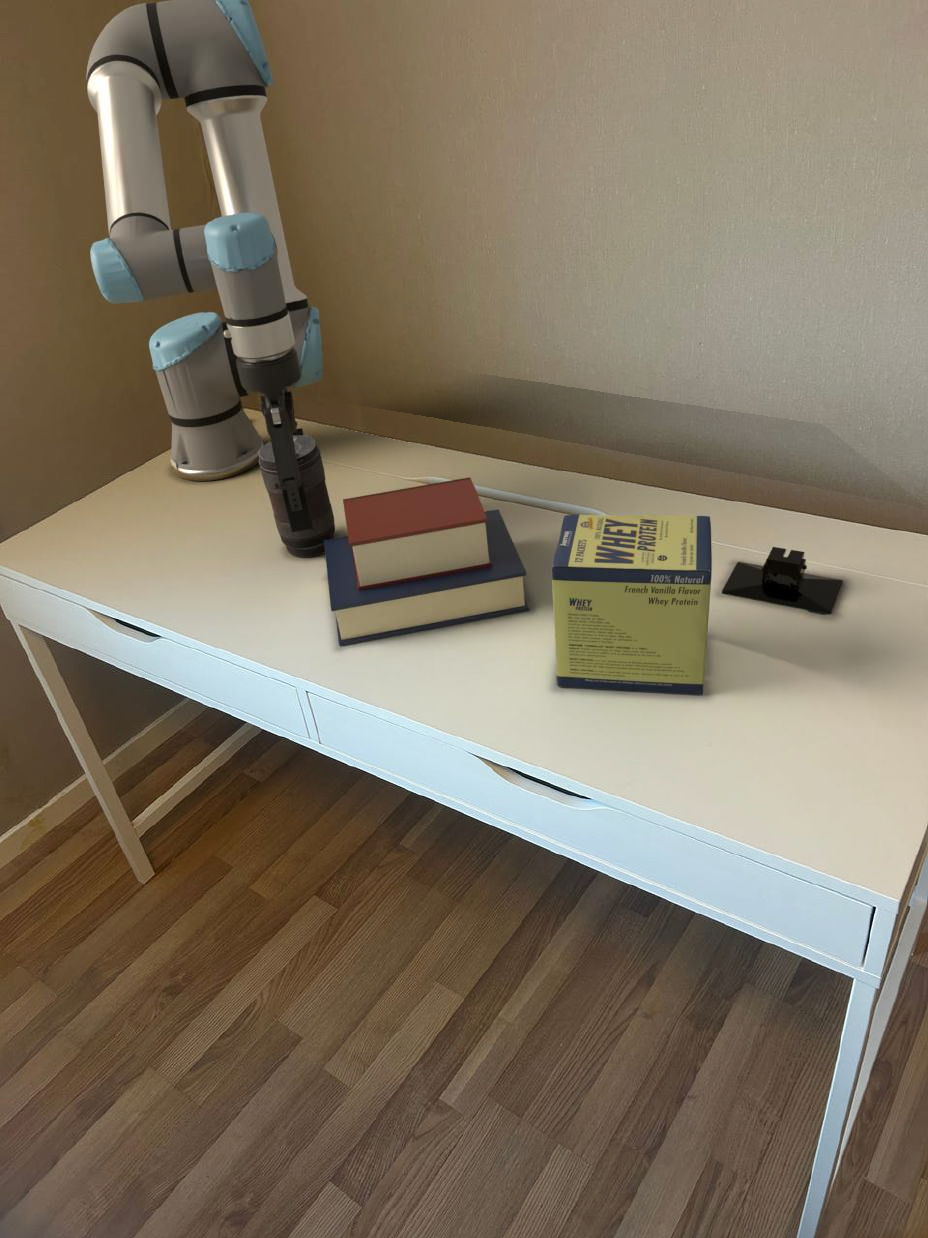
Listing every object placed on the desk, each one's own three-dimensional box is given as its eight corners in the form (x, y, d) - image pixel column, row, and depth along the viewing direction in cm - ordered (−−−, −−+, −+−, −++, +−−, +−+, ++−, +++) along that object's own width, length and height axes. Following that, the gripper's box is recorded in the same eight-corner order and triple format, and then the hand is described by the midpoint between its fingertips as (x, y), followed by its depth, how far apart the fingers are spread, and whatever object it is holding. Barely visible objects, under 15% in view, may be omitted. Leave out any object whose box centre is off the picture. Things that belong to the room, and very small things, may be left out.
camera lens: (276, 540, 132) (251, 443, 124) (331, 525, 134) (310, 428, 125) (288, 567, 126) (262, 466, 117) (345, 550, 128) (324, 450, 119)
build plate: (843, 583, 110) (848, 549, 107) (830, 617, 105) (835, 583, 102) (737, 563, 115) (740, 531, 112) (720, 595, 110) (723, 561, 107)
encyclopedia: (331, 575, 123) (323, 539, 120) (501, 544, 125) (498, 508, 121) (339, 646, 110) (330, 608, 107) (529, 610, 112) (526, 572, 108)
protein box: (705, 696, 96) (713, 569, 87) (555, 688, 99) (547, 566, 90) (705, 635, 104) (712, 513, 95) (566, 630, 108) (560, 512, 99)
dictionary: (351, 544, 118) (342, 499, 114) (475, 522, 119) (470, 476, 115) (358, 590, 109) (349, 543, 105) (492, 566, 110) (487, 518, 107)
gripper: (237, 327, 124) (273, 471, 136) (231, 392, 103) (273, 555, 115) (293, 318, 124) (324, 463, 136) (298, 381, 104) (333, 545, 116)
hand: (301, 505), depth 126 cm, fingers open, 13 cm apart
